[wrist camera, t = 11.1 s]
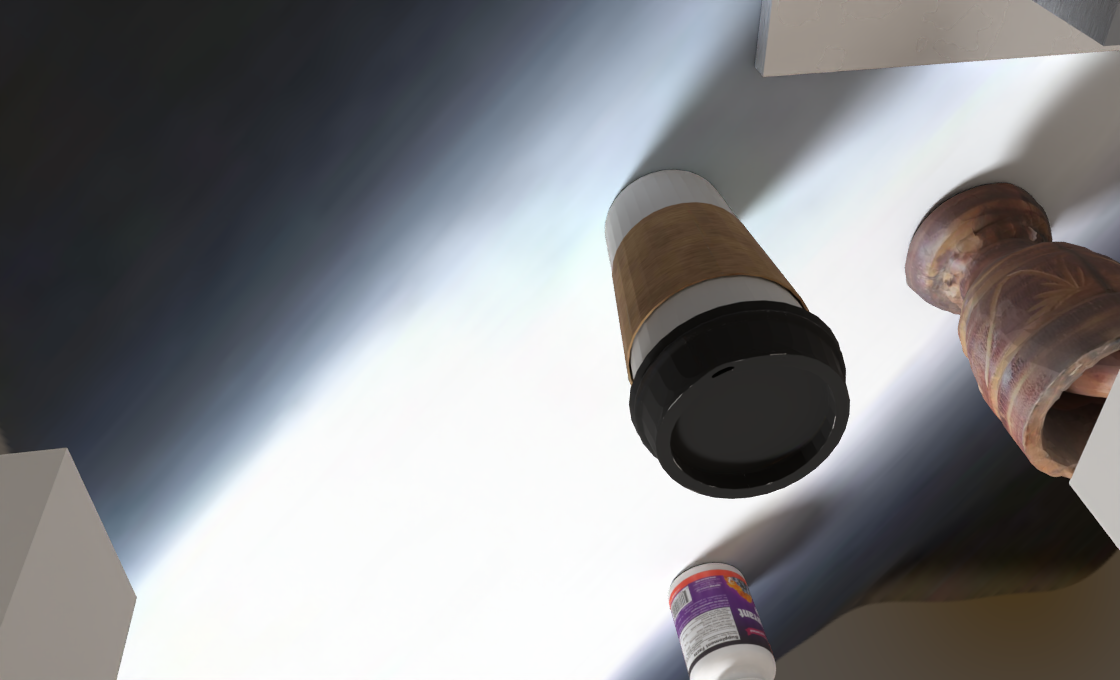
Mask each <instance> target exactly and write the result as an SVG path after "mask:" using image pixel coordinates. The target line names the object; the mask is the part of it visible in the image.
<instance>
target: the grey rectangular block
mask: <svg viewBox="0 0 1120 680" xmlns="http://www.w3.org/2000/svg"><path fill="white" fill-rule="evenodd" d="M1032 1H1034V2H1035V3H1037V4H1039V5H1040V6H1042V7H1043V8H1045V9H1046V10H1048V11H1049V12H1051V13H1053V14H1054V15H1056V16H1057V17H1059V18H1060V19H1062V20H1063V21H1065V22H1067V23H1068V24H1070V25H1071V26H1073V27H1074V28H1076V29H1078V30H1079V31H1081V32H1082V33H1084V34H1085V35H1087V36H1088V37H1090V38H1092V39H1093V40H1095V41H1096V42H1098V43H1099V44H1101V45H1102V46H1114V45H1120V0H1032Z"/></svg>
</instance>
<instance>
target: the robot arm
mask: <svg viewBox="0 0 1120 680" xmlns="http://www.w3.org/2000/svg"><path fill="white" fill-rule="evenodd" d="M1069 484H1070V485H1071V487H1072V488H1073V489H1074V491H1075V492H1076V493H1077V495H1078V496H1079V497H1080V498H1081V500H1082V501H1083V502H1084V504H1085V505H1086V506H1087V508H1088V509H1089V510H1090V512H1091V513H1092V514H1093V516H1094V517H1095V518H1096V520H1097V521H1098V522H1099V523H1100V525H1101V526H1102V527H1103V529H1104V530H1105V531H1106V533H1107V534H1108V535H1109V537H1110V538H1111V539H1112V541H1113V542H1114V543H1115V544H1116V546H1117V547H1118V548H1119V550H1120V370H1119V372H1118V375H1117V377H1116V379H1115V381H1114V384H1113V386H1112V388H1111V390H1110V392H1109V395H1108V397H1107V399H1106V401H1105V404H1104V406H1103V408H1102V410H1101V413H1100V415H1099V417H1098V419H1097V422H1096V424H1095V426H1094V428H1093V431H1092V433H1091V435H1090V437H1089V440H1088V442H1087V444H1086V446H1085V449H1084V451H1083V453H1082V455H1081V457H1080V460H1079V462H1078V464H1077V466H1076V469H1075V471H1074V473H1073V475H1072V478H1071V480H1070V482H1069ZM136 599H137V597H136V595H135V593H134V591H133V588H132V586H131V584H130V582H129V580H128V578H127V576H126V573H125V571H124V569H123V567H122V565H121V563H120V560H119V558H118V556H117V554H116V552H115V550H114V548H113V545H112V543H111V541H110V539H109V537H108V535H107V533H106V530H105V528H104V526H103V524H102V522H101V520H100V518H99V515H98V513H97V511H96V509H95V507H94V505H93V502H92V500H91V498H90V496H89V494H88V492H87V490H86V487H85V485H84V483H83V481H82V479H81V477H80V475H79V472H78V470H77V468H76V466H75V464H74V462H73V460H72V457H71V455H70V453H69V451H68V449H67V448H61V449H52V450H42V451H33V452H23V453H14V454H5V455H0V680H116V679H117V675H118V671H119V667H120V663H121V659H122V655H123V651H124V647H125V643H126V639H127V635H128V631H129V627H130V623H131V619H132V615H133V611H134V607H135V603H136Z"/></svg>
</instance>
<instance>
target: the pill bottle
mask: <svg viewBox="0 0 1120 680" xmlns="http://www.w3.org/2000/svg"><path fill="white" fill-rule="evenodd" d="M668 600H669V605H670V609H671V613H672V616H673V620H674V623H675V627H676V630H677V634H678V638H679V641H680V645H681V649H682V652H683V656H684V660H685V663H686V667H687V670H688V674H689V677H690V680H774V677H775V673H776V664H775V660H774V656H773V654H772V651H771V648H770V645H769V643H768V640H767V638H766V635H765V632H764V629H763V627H762V624H761V621H760V618H759V616H758V613H757V610H756V607H755V604H754V602H753V599H752V596H751V594H750V591H749V588H748V585H747V583H746V581H745V578H744V576H743V575H742V573H741V572H740V571H739V570H738V569H736V568H735V567H733V566H730V565H727V564H723V563H707V564H702V565H699V566H696V567H693V568H691V569H689V570H687V571H685V572H684V573H682V574H681V575H680V576H678V577H677V578H676V579H675V580H674V582H673V583H672V584H671V586H670V588H669V592H668Z"/></svg>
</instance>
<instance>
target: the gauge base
mask: <svg viewBox="0 0 1120 680" xmlns="http://www.w3.org/2000/svg"><path fill="white" fill-rule="evenodd" d="M1116 50H1120V45H1114V46H1102V45H1101V44H1099V43H1098V42H1096V41H1095V40H1093V39H1092V38H1090V37H1088V36H1087V35H1085V34H1084V33H1082V32H1081V31H1079V30H1078V29H1076V28H1074V27H1073V26H1071V25H1070V24H1068V23H1067V22H1065V21H1063V20H1062V19H1060V18H1059V17H1057V16H1056V15H1054V14H1053V13H1051V12H1049V11H1048V10H1046V9H1045V8H1043V7H1042V6H1040V5H1039V4H1037V3H1035V2H1034V1H1032V0H762V6H761V15H760V24H759V33H758V42H757V51H756V60H755V67H756V68H757V70H758V71H759V72H760V74H761V75H762V76H763V77H770V76H784V75H797V74H810V73H823V72H837V71H850V70H863V69H877V68H890V67H903V66H917V65H930V64H943V63H957V62H970V61H983V60H997V59H1010V58H1023V57H1037V56H1050V55H1063V54H1076V53H1090V52H1103V51H1116Z"/></svg>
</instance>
